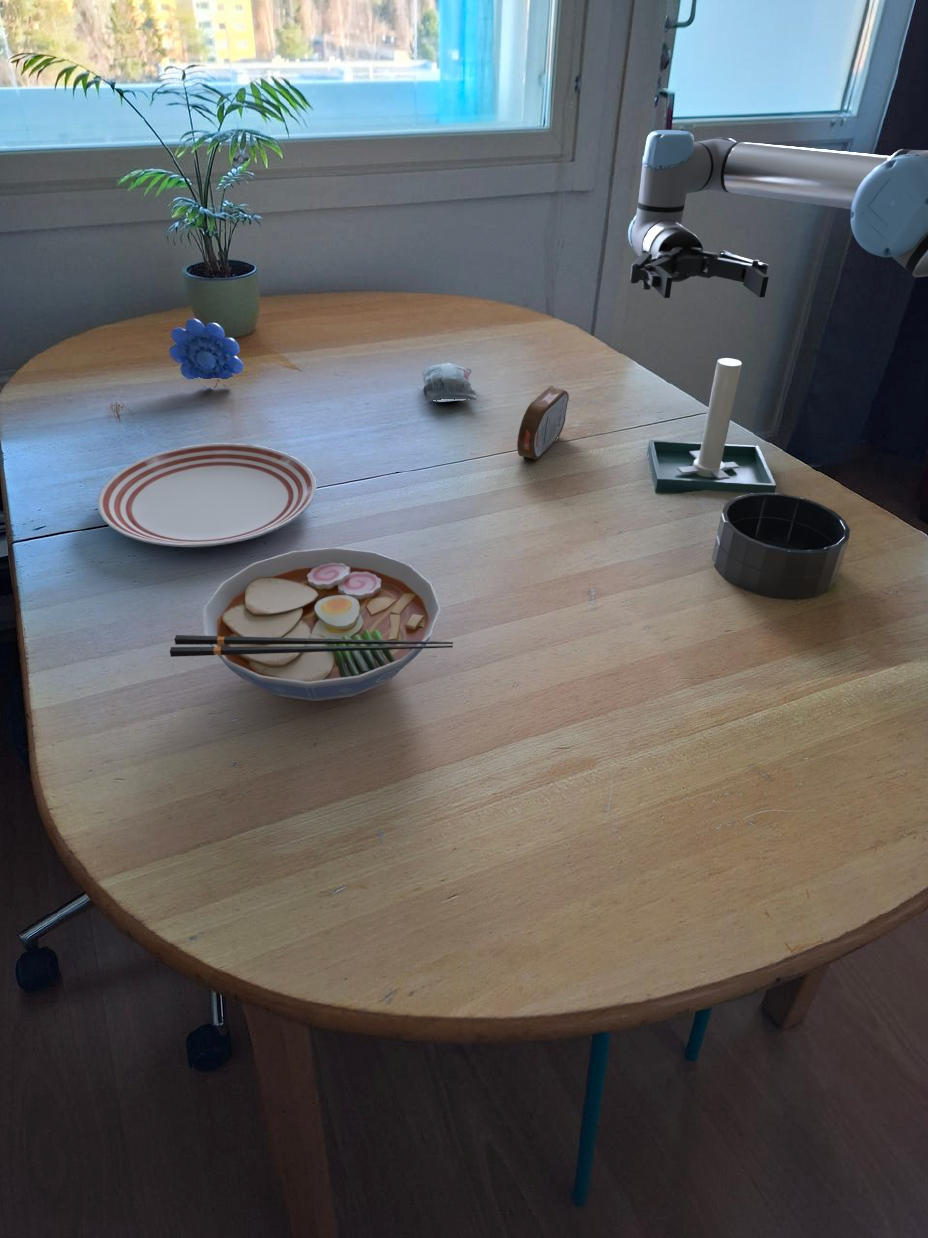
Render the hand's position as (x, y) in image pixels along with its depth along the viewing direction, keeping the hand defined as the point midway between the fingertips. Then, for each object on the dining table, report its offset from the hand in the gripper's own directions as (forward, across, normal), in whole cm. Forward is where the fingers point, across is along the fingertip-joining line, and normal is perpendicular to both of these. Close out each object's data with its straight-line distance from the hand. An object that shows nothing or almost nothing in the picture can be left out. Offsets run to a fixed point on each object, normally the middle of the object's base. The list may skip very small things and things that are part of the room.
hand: (716, 287), depth 121 cm
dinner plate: (+17, +69, -24) cm, 75 cm away
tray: (+10, 0, -24) cm, 26 cm away
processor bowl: (+36, +1, -24) cm, 43 cm away
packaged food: (-22, +35, -24) cm, 48 cm away
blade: (+10, 0, -23) cm, 25 cm away
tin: (0, +23, -24) cm, 33 cm away
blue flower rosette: (-26, +76, -24) cm, 83 cm away
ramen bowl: (+51, +53, -24) cm, 77 cm away
